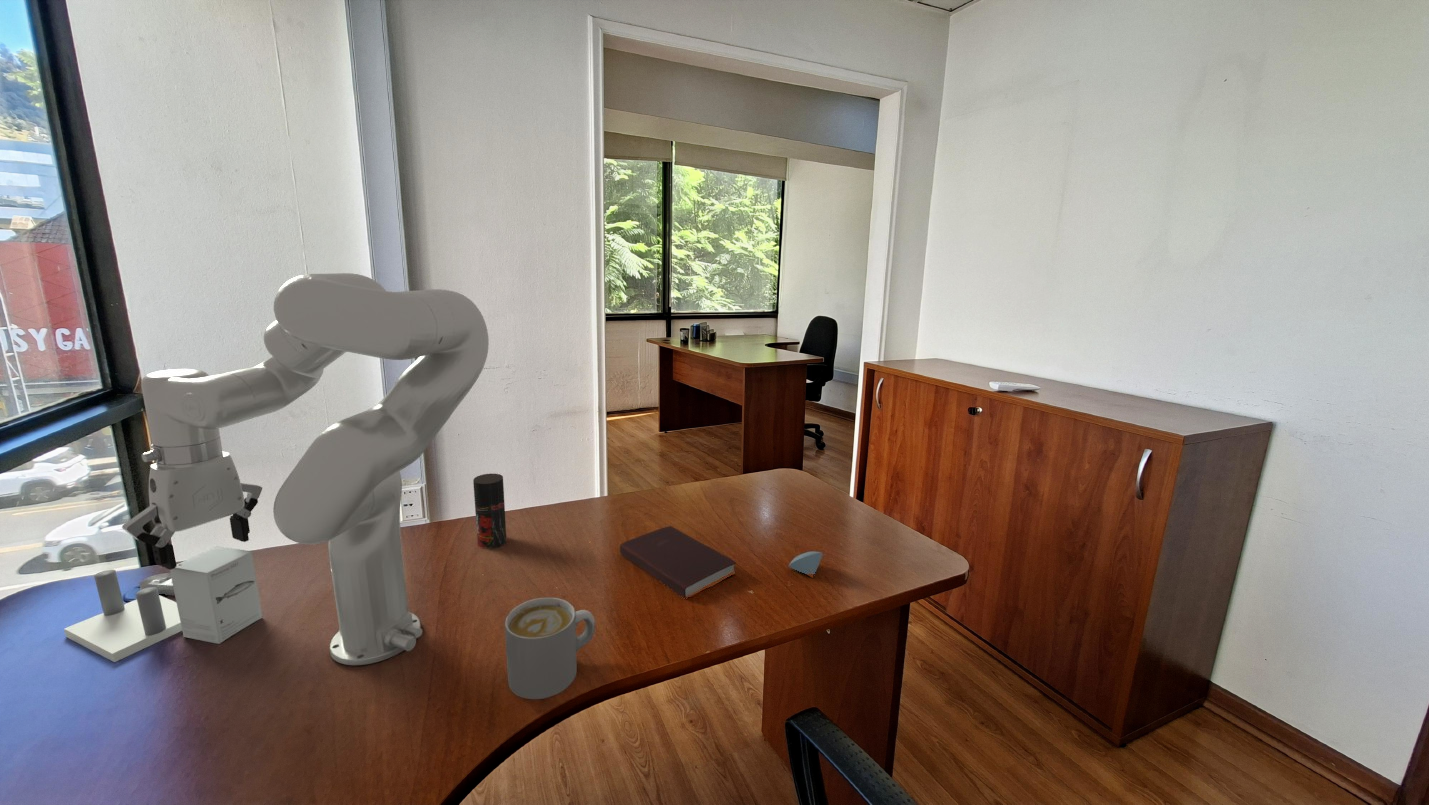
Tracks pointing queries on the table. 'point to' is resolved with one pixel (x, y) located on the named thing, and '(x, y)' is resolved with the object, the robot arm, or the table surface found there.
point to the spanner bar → (159, 583)
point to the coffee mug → (544, 646)
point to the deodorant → (490, 510)
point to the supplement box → (216, 594)
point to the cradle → (125, 620)
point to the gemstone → (806, 562)
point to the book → (677, 560)
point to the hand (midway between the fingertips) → (206, 552)
